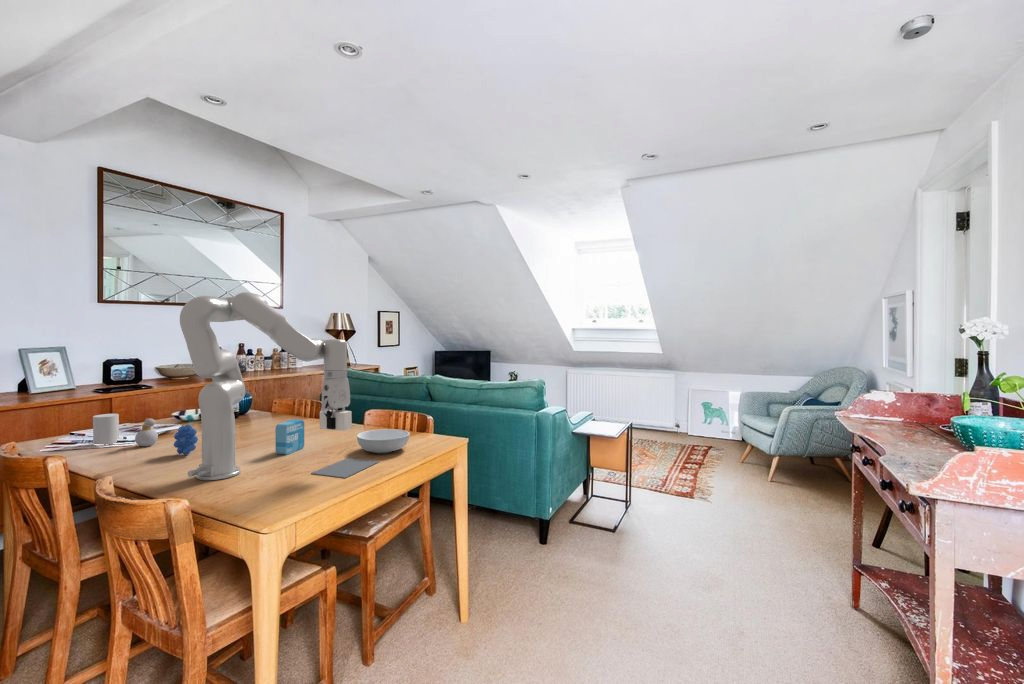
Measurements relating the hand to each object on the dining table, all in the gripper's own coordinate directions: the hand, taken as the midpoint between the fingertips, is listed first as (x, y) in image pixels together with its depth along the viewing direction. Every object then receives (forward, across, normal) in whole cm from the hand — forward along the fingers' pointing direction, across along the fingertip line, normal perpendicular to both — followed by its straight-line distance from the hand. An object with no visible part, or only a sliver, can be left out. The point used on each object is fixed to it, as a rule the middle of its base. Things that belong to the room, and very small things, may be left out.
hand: (335, 426), depth 161 cm
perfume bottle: (+15, +5, +94) cm, 95 cm away
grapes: (+15, 0, +67) cm, 69 cm away
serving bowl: (+16, +30, 0) cm, 34 cm away
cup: (+15, +2, +114) cm, 115 cm away
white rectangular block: (+1, 0, 0) cm, 1 cm away
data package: (+16, +16, +34) cm, 41 cm away
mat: (+16, +5, -1) cm, 16 cm away
